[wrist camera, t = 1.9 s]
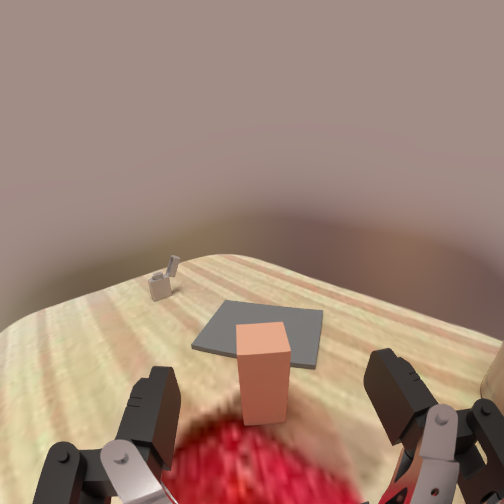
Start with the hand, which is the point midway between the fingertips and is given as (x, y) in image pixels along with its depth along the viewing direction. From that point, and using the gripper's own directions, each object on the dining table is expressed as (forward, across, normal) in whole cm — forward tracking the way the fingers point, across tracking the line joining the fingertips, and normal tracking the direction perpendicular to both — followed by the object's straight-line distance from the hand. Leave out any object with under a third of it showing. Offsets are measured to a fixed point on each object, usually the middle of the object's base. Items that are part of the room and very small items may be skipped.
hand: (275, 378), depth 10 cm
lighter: (+42, +16, +18) cm, 48 cm away
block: (+12, -1, +18) cm, 22 cm away
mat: (+28, -2, +18) cm, 33 cm away
